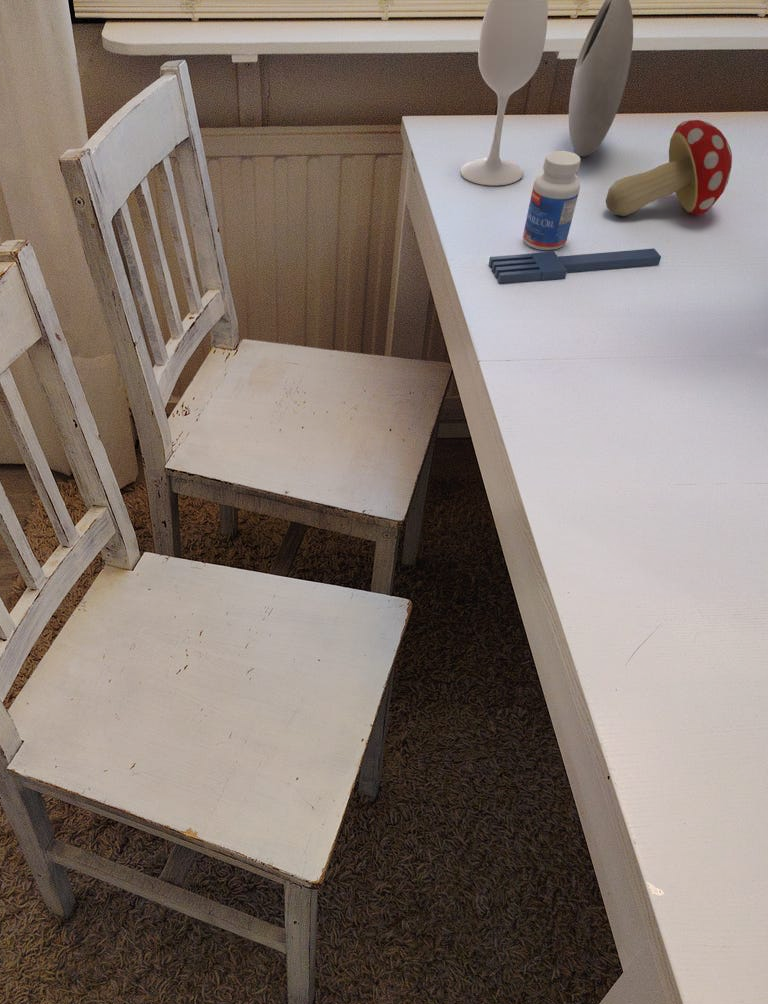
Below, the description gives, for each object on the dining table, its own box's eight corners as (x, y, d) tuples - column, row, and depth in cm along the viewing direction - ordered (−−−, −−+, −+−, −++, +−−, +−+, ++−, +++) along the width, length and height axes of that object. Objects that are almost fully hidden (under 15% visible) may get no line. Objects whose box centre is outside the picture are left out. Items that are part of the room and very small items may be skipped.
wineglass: (508, 157, 119) (539, -24, 103) (532, 182, 114) (568, -6, 98) (452, 164, 118) (473, -18, 102) (473, 189, 113) (499, 1, 97)
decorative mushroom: (605, 149, 99) (736, 92, 96) (587, 168, 110) (704, 117, 106) (627, 243, 102) (755, 191, 98) (608, 253, 113) (723, 206, 109)
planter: (561, 126, 126) (593, -28, 112) (609, 129, 125) (648, -26, 110) (553, 175, 115) (587, 12, 101) (605, 179, 114) (648, 14, 99)
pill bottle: (513, 241, 103) (528, 157, 96) (539, 227, 105) (556, 144, 98) (549, 256, 101) (568, 170, 93) (575, 241, 103) (595, 156, 95)
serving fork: (647, 251, 101) (650, 243, 100) (663, 270, 98) (666, 261, 97) (488, 264, 100) (489, 256, 99) (499, 284, 97) (500, 275, 96)
